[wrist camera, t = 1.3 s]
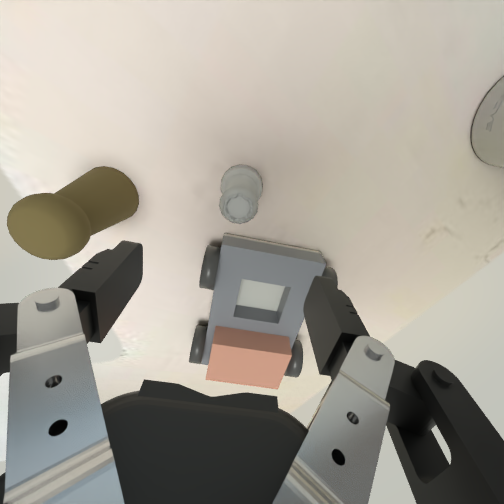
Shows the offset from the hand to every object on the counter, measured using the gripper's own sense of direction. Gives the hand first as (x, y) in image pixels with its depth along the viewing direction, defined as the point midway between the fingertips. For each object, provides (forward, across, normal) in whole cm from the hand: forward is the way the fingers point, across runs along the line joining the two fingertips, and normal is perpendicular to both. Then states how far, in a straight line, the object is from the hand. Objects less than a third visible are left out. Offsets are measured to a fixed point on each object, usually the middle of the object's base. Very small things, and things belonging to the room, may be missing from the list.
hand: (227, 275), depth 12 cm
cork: (+18, +14, +4) cm, 23 cm away
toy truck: (+18, -5, +16) cm, 24 cm away
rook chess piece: (+18, 0, 0) cm, 18 cm away
